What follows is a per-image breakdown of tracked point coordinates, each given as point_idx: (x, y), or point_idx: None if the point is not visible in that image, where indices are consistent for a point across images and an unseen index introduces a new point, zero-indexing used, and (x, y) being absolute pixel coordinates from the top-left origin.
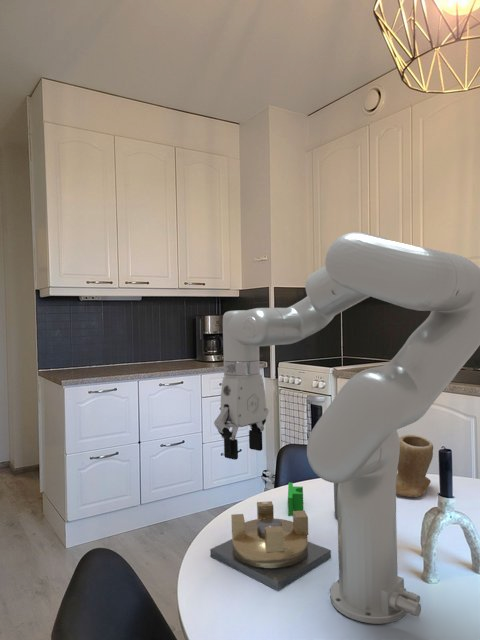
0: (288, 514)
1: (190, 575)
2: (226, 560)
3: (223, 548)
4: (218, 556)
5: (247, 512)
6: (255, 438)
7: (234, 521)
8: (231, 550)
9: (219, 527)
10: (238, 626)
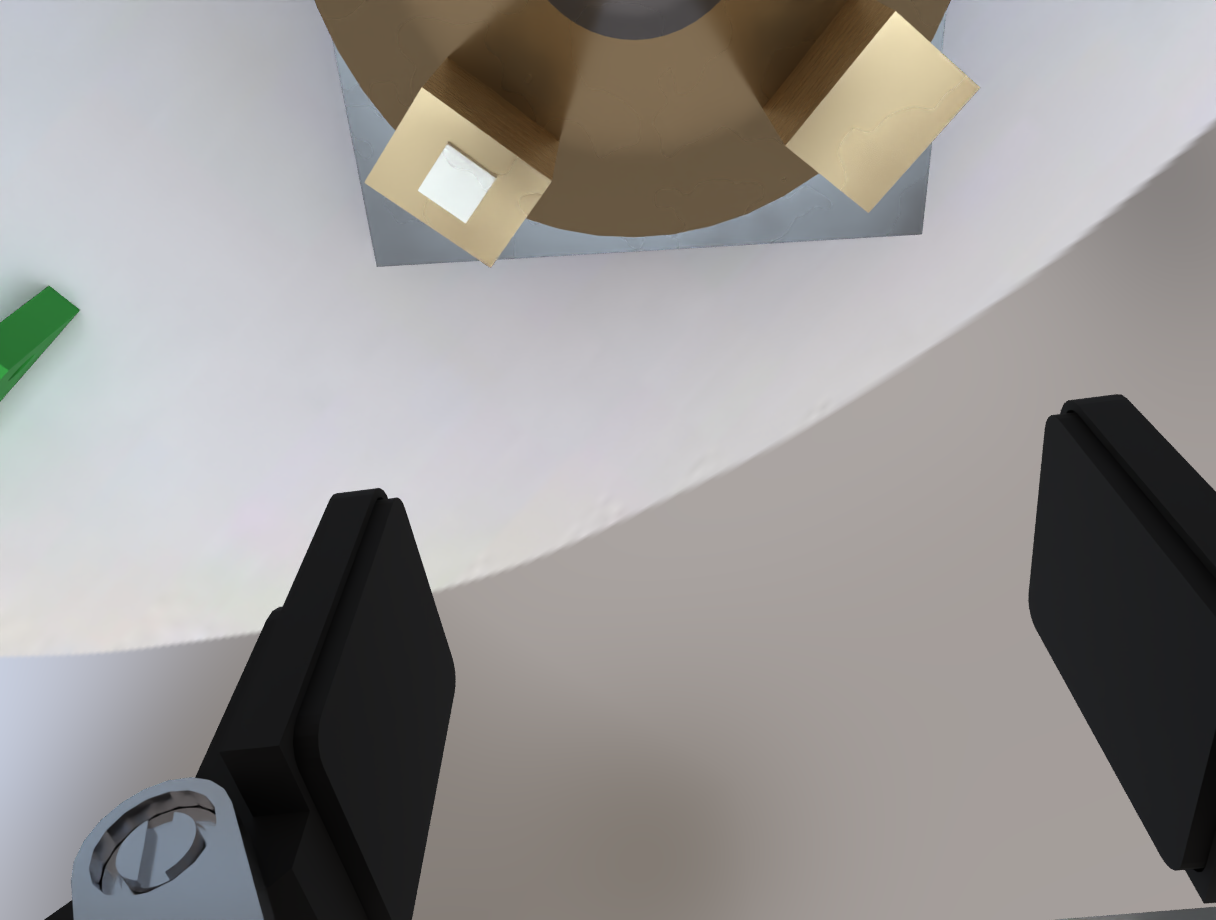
0: (73, 313)
1: (1169, 114)
2: None
3: None
4: None
5: (302, 524)
6: (383, 719)
7: (962, 75)
8: None
9: (585, 480)
10: None
